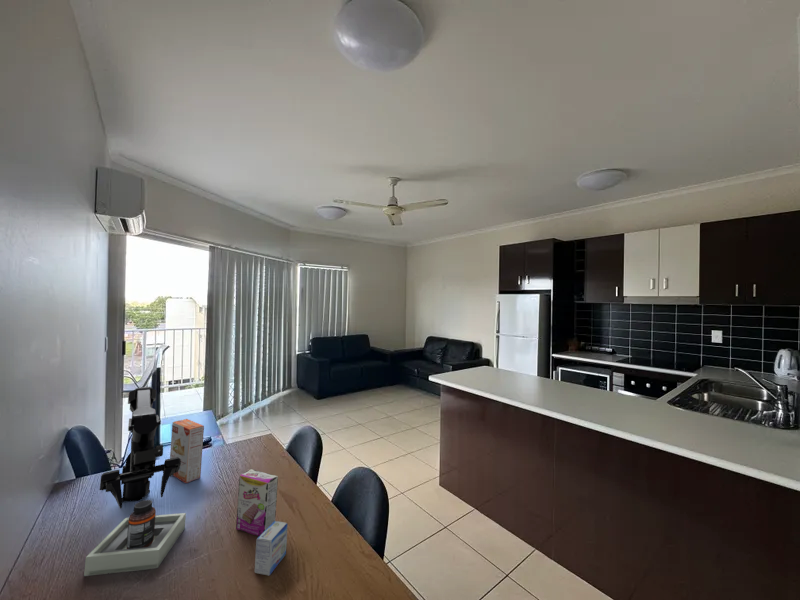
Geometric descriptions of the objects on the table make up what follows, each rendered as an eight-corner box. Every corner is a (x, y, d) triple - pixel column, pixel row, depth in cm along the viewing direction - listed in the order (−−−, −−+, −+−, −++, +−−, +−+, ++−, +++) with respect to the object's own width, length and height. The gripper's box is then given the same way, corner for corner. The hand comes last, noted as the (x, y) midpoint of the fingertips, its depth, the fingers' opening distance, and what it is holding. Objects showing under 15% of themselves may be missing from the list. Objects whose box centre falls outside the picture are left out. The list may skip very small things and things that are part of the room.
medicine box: (269, 576, 81) (271, 541, 82) (253, 573, 82) (256, 538, 83) (286, 554, 89) (288, 522, 90) (271, 551, 90) (273, 519, 90)
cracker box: (167, 473, 130) (171, 421, 132) (183, 468, 136) (187, 418, 137) (184, 484, 123) (188, 428, 124) (200, 478, 128) (205, 424, 129)
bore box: (83, 576, 79) (85, 557, 79) (124, 533, 95) (125, 517, 95) (157, 568, 83) (159, 549, 83) (184, 528, 98) (185, 513, 98)
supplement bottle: (137, 538, 92) (140, 497, 92) (158, 538, 92) (162, 497, 93) (120, 553, 86) (124, 509, 86) (143, 553, 86) (146, 509, 87)
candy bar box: (234, 530, 98) (238, 475, 99) (247, 520, 103) (250, 468, 104) (263, 539, 95) (267, 482, 96) (275, 529, 99) (279, 475, 100)
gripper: (104, 444, 91) (99, 502, 82) (182, 431, 104) (185, 480, 95) (101, 462, 96) (97, 518, 88) (176, 447, 109) (179, 495, 100)
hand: (142, 502), depth 92 cm, fingers open, 9 cm apart
